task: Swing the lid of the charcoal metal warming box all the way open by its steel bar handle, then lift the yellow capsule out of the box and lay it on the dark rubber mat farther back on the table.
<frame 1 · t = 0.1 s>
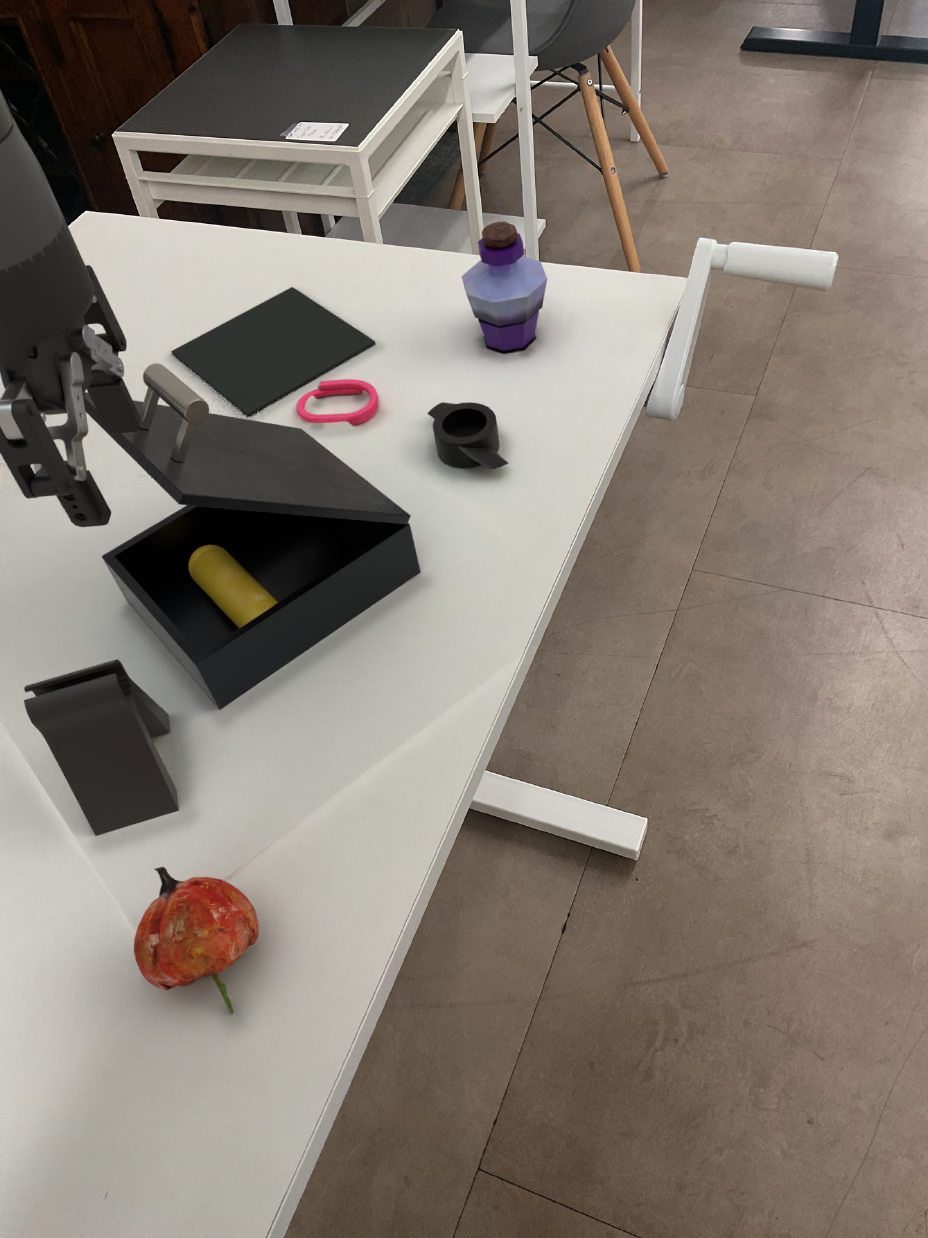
hand: (111, 474, 63), 22 cm above the table, tool pointing down, fingers open, 8 cm apart
painted toy pumpkin: (216, 960, 65), on the table
phone stand: (138, 779, 74), on the table
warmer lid: (259, 432, 74), point 15 cm above the table, hinge at 40.0°
yellow capsule: (241, 606, 83), point 1 cm above the table, touching warmer
warmer: (274, 592, 84), on the table
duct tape: (468, 448, 94), on the table
mat: (272, 349, 108), on the table
potion bottle: (509, 339, 104), on the table
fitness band: (339, 410, 100), on the table
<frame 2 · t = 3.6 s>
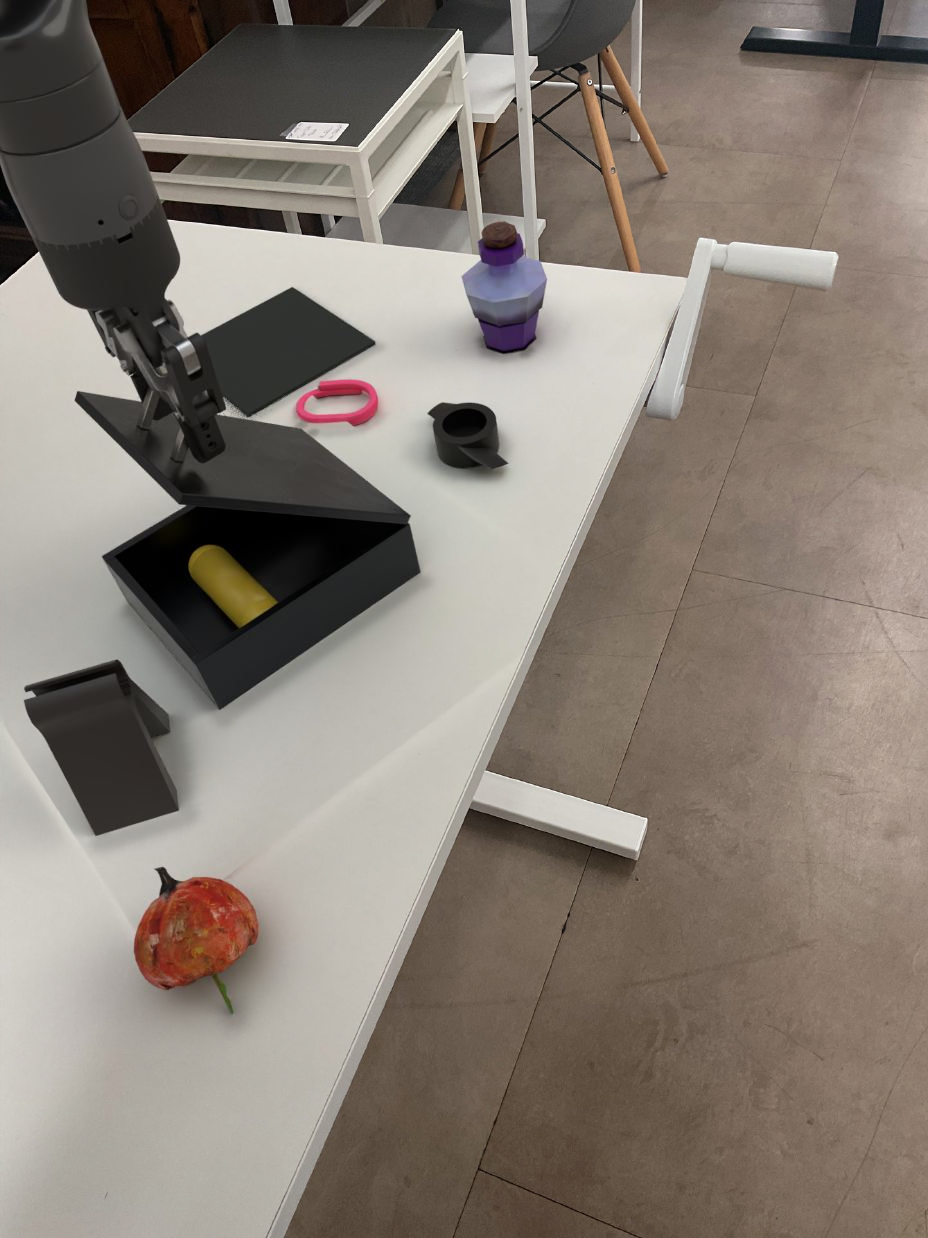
hand: (187, 433, 70), 18 cm above the table, tool pointing down, fingers closed on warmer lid, 6 cm apart
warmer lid: (259, 432, 74), point 15 cm above the table, hinge at 40.0°, touching gripper
everything else where it was.
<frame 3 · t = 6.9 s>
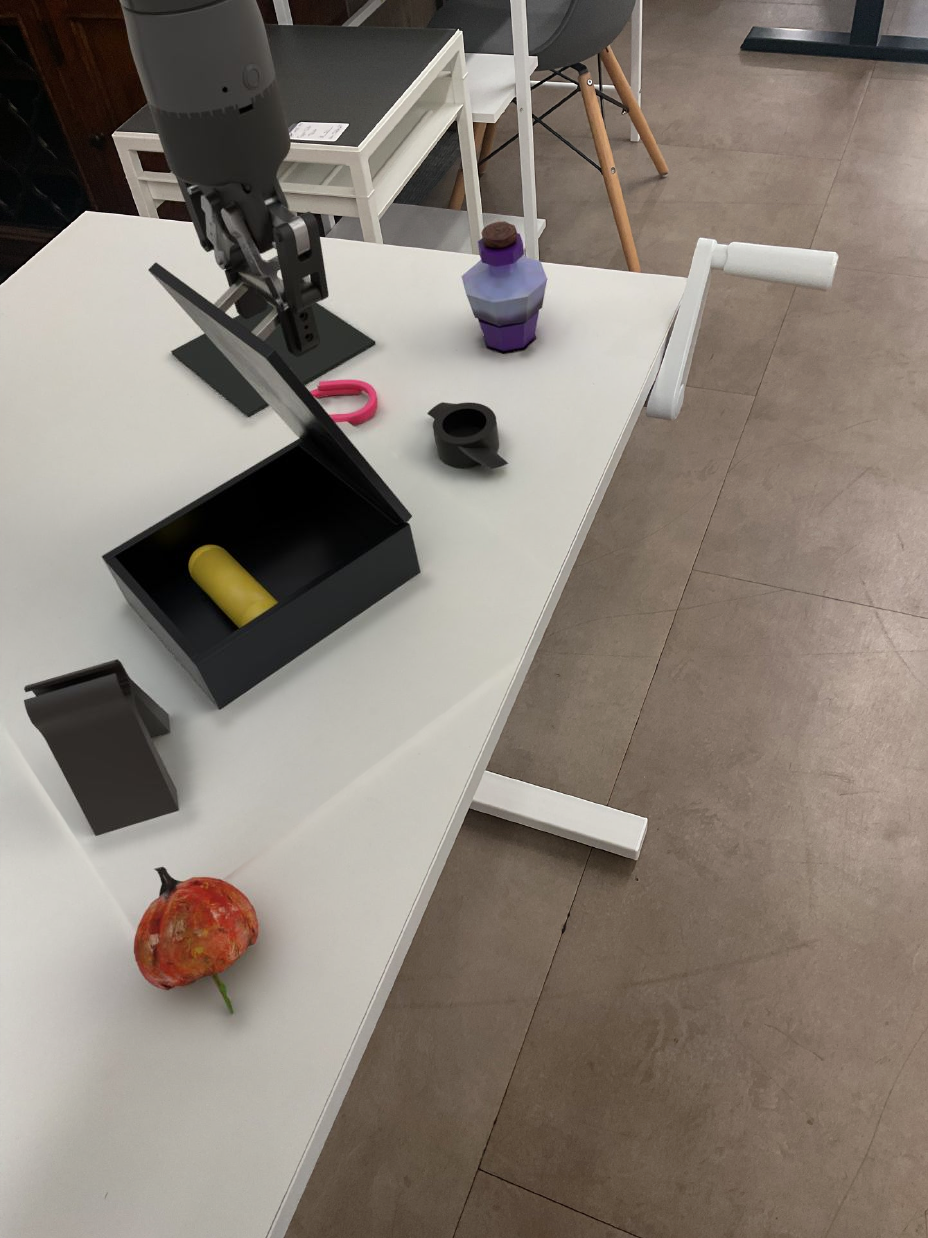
hand: (279, 330, 70), 22 cm above the table, tool pointing down, fingers closed on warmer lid, 6 cm apart
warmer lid: (309, 377, 74), point 17 cm above the table, hinge at 70.2°, touching gripper
everything else where it was.
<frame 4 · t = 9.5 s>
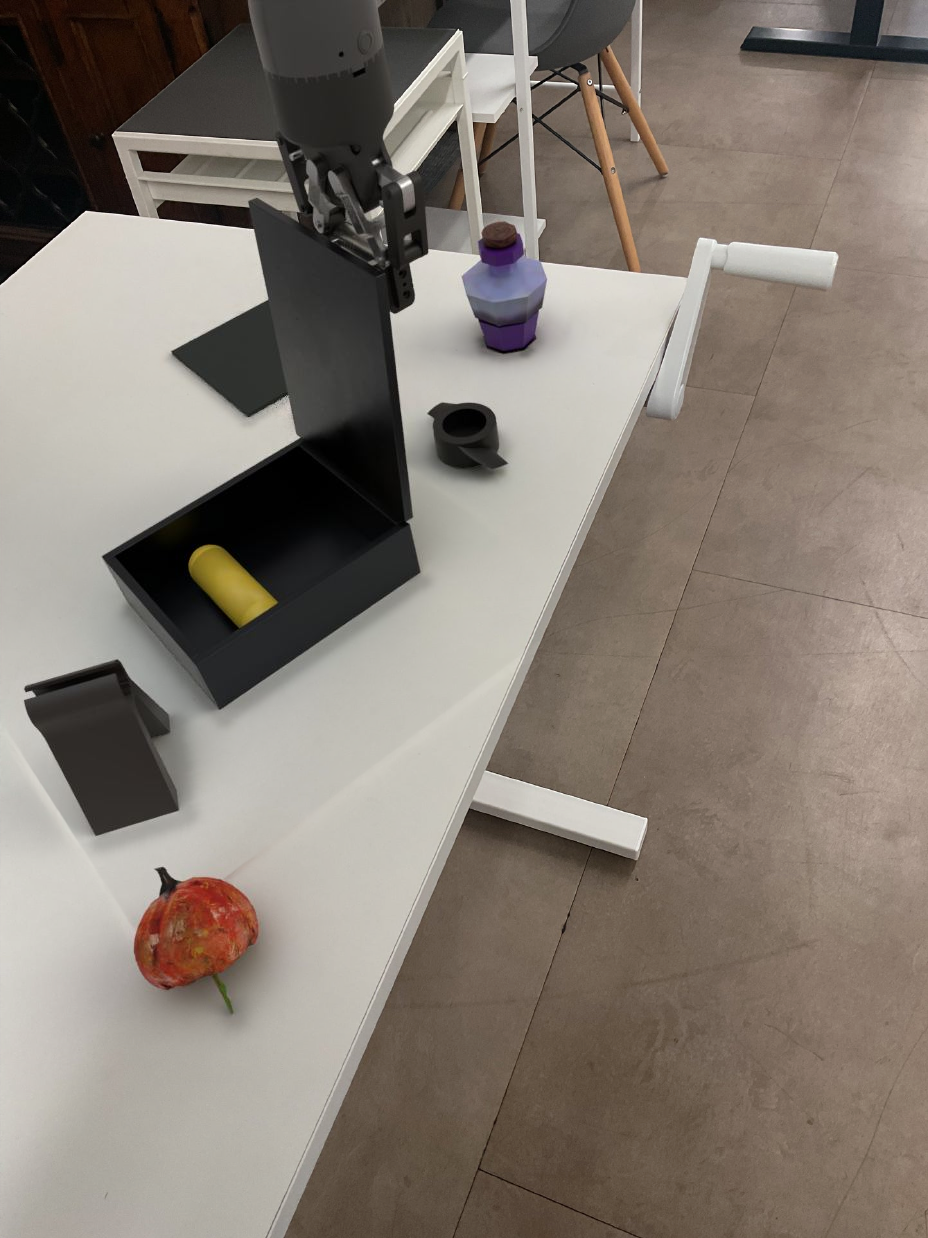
hand: (373, 290, 74), 21 cm above the table, tool pointing down, fingers closed on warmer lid, 6 cm apart
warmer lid: (359, 354, 76), point 17 cm above the table, hinge at 95.2°, touching gripper
everything else where it was.
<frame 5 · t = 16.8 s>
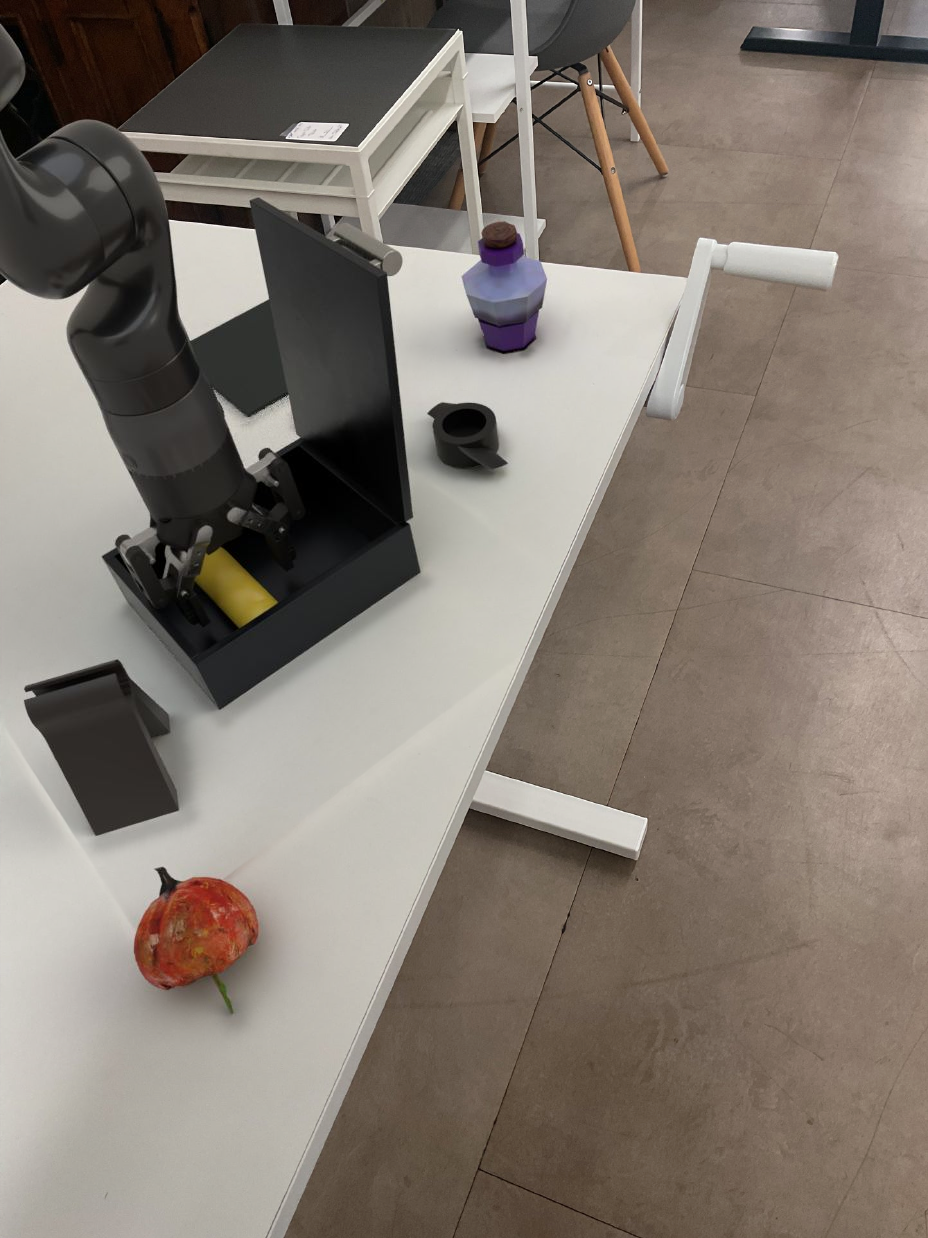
hand: (243, 591, 82), 2 cm above the table, tool pointing down, fingers open, 7 cm apart
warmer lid: (359, 354, 76), point 17 cm above the table, hinge at 95.6°
everything else where it was.
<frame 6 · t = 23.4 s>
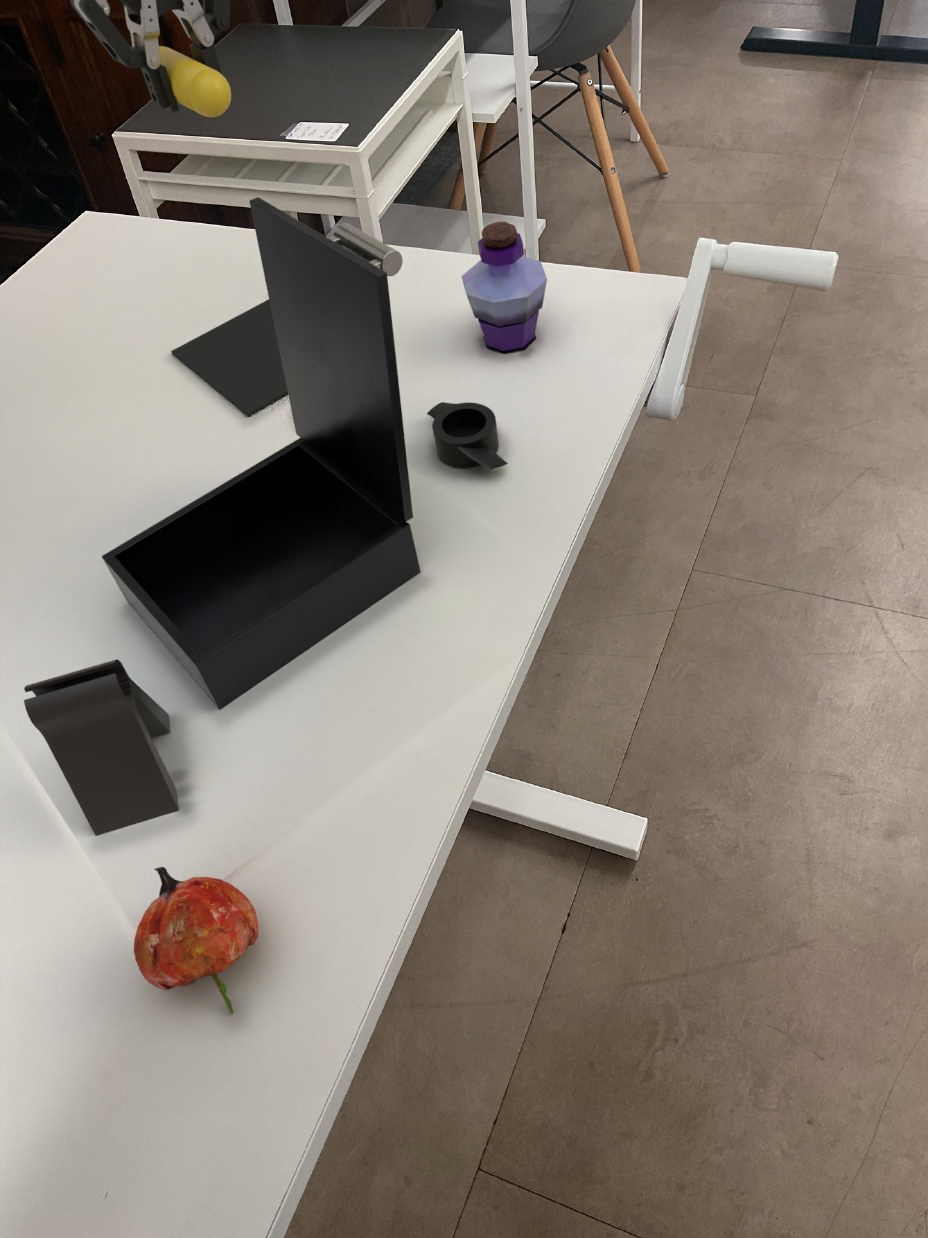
hand: (191, 99, 87), 26 cm above the table, tool pointing down, fingers closed on yellow capsule, 3 cm apart
yellow capsule: (192, 102, 87), point 26 cm above the table, touching gripper
everything else where it was.
when the fingers open (1 cm above the table, at t = 29.3 s): yellow capsule stays where it is, resting on mat.
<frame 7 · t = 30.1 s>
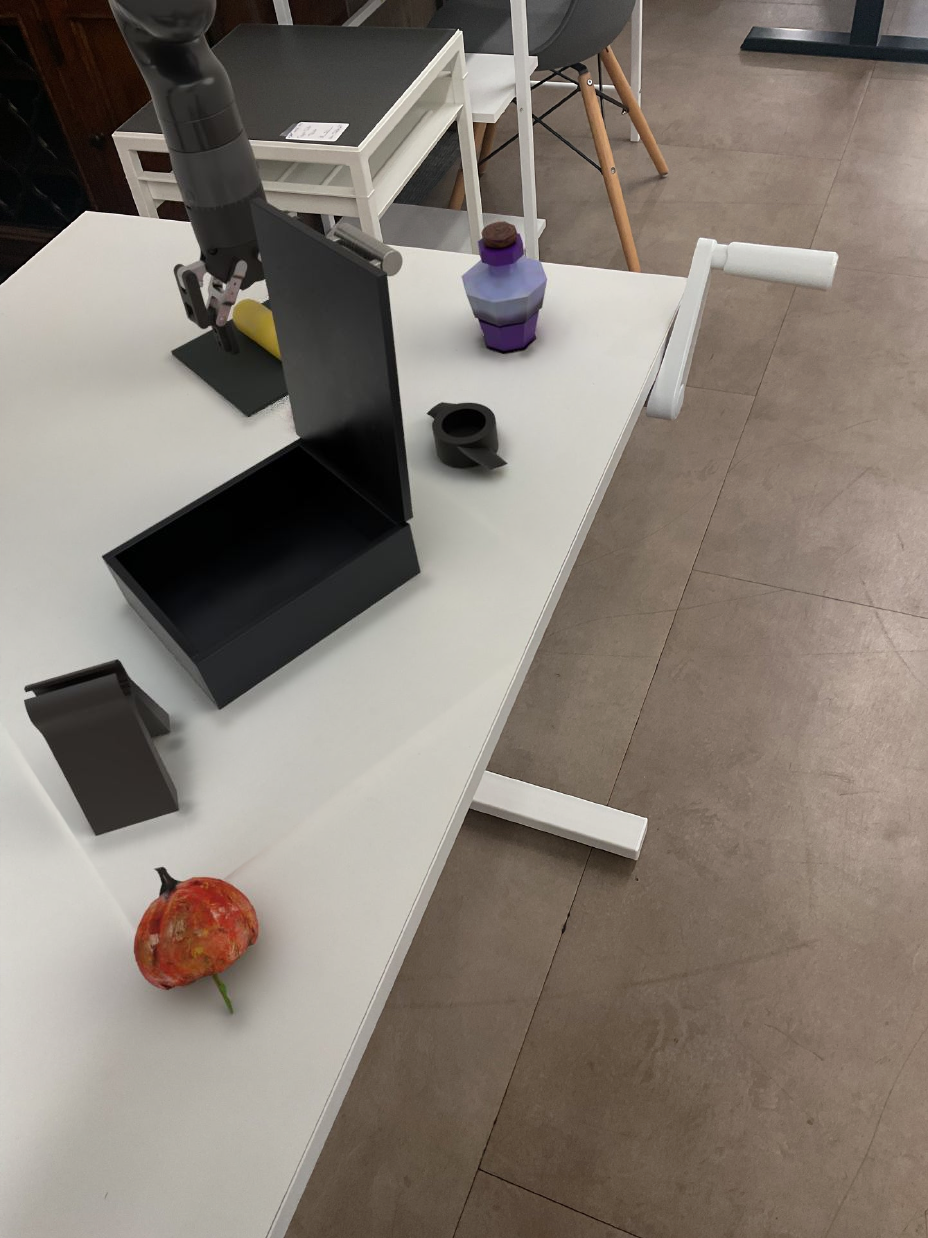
hand: (266, 332, 106), 2 cm above the table, tool pointing down, fingers open, 8 cm apart
yellow capsule: (272, 345, 107), resting on mat, tilted 7°
everything else where it was.
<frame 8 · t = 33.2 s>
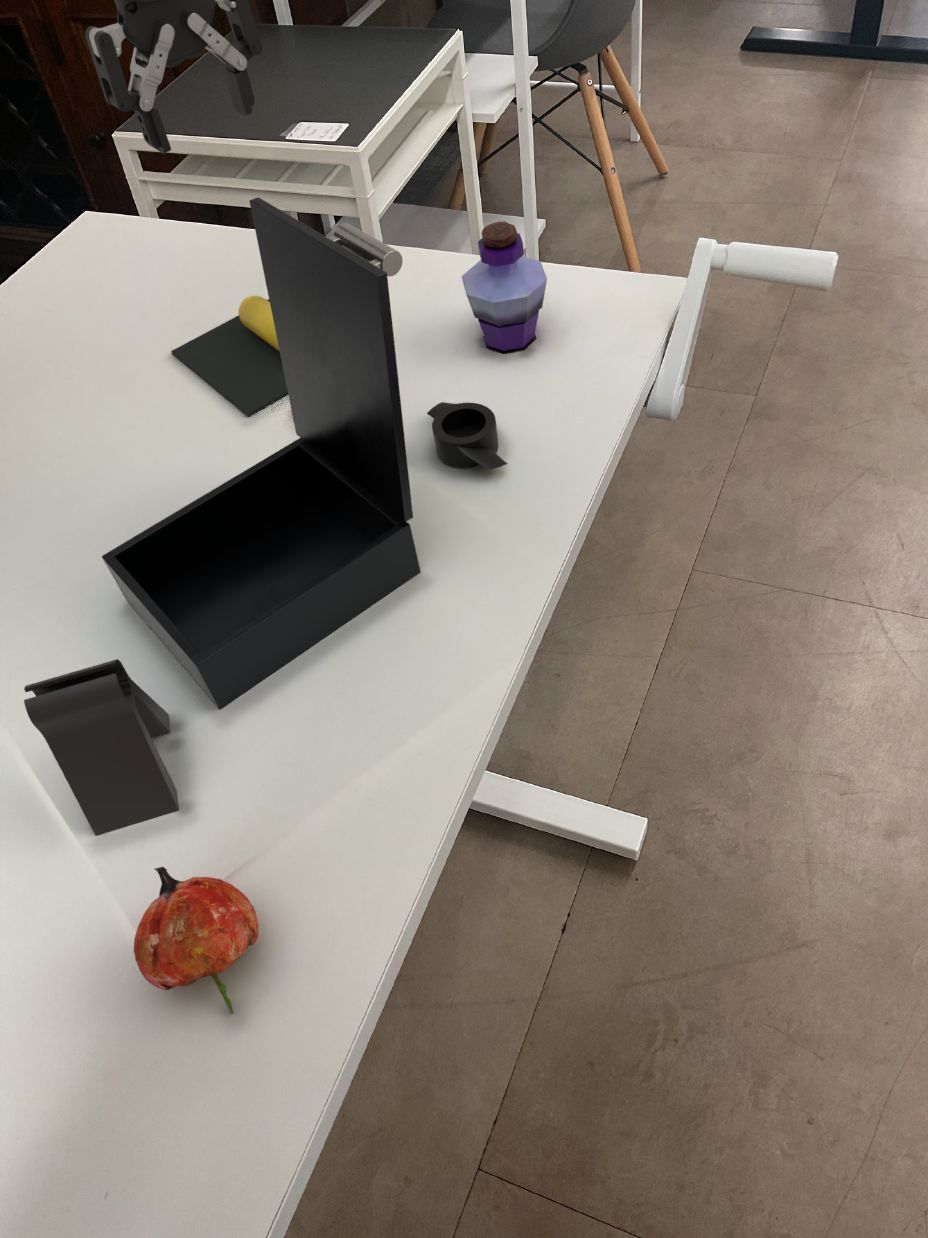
hand: (204, 131, 90), 23 cm above the table, tool pointing down, fingers open, 8 cm apart
yellow capsule: (271, 343, 107), point 1 cm above the table, tilted 32°, touching mat
everything else where it was.
at the end: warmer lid at +96° (first picture: +40°); yellow capsule inside the target area on the mat (0.1 cm from its centre), point 0.7 cm above the mat's base; the gripper is holding nothing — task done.
